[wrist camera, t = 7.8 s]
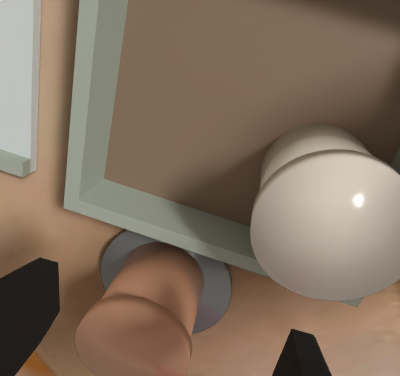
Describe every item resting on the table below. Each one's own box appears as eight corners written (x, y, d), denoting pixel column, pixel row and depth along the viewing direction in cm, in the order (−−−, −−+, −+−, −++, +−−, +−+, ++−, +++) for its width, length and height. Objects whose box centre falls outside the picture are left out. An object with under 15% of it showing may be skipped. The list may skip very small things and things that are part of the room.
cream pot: (398, 138, 16) (466, 191, 10) (343, 237, 18) (374, 319, 13) (278, 102, 16) (283, 135, 11) (241, 204, 19) (230, 271, 13)
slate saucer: (249, 247, 20) (249, 255, 20) (211, 341, 24) (209, 350, 24) (114, 203, 21) (109, 208, 20) (99, 301, 25) (94, 309, 24)
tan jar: (210, 314, 22) (191, 402, 17) (128, 306, 23) (87, 386, 18) (205, 241, 20) (183, 316, 14) (115, 236, 21) (62, 304, 16)
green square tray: (513, -23, 13) (590, -43, 10) (343, 264, 20) (357, 307, 16) (132, -125, 14) (92, -172, 11) (94, 182, 21) (63, 208, 17)
